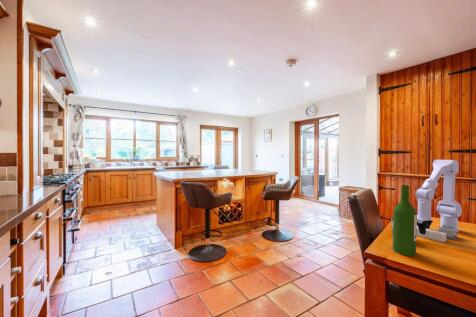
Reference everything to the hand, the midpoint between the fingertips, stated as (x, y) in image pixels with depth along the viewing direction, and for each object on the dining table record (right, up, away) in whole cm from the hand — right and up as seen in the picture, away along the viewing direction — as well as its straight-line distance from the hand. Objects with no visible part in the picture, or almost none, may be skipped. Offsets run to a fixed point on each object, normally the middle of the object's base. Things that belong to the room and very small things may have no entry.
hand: (423, 233), depth 121 cm
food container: (-15, -2, -3) cm, 15 cm away
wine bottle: (-27, -3, -19) cm, 33 cm away
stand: (+8, -1, +5) cm, 10 cm away
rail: (0, -2, 0) cm, 2 cm away
